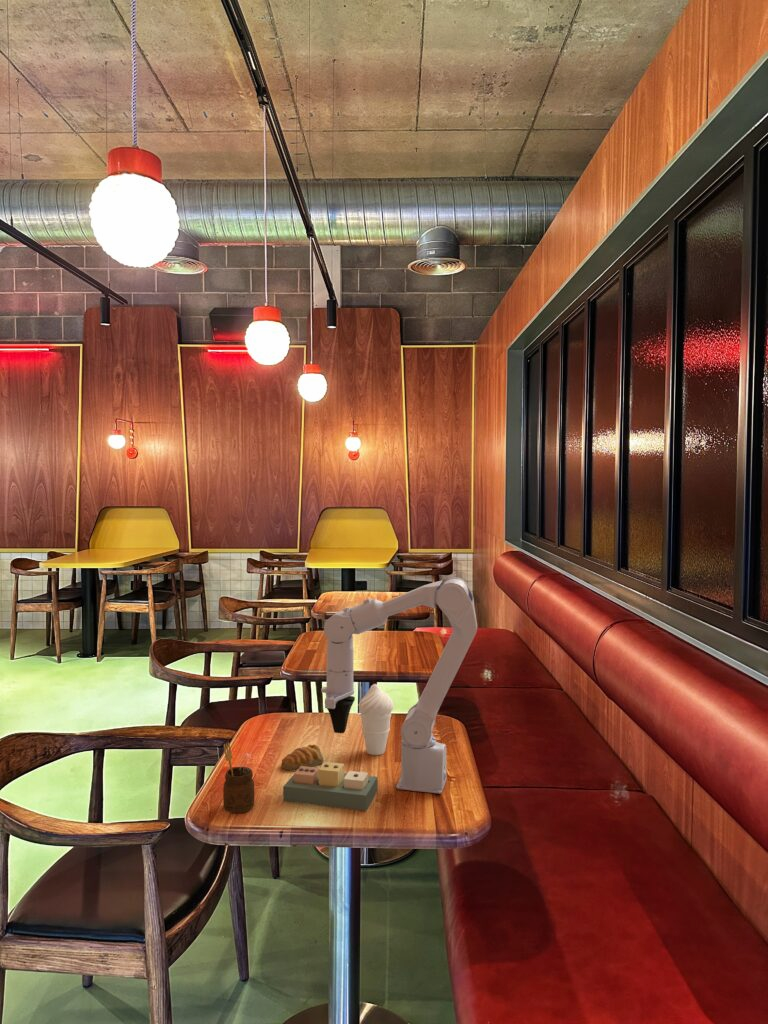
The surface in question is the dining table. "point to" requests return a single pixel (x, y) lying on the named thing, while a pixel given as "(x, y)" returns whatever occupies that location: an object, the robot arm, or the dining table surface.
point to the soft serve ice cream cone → (375, 719)
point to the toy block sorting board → (331, 794)
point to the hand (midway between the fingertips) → (339, 731)
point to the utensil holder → (238, 786)
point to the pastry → (303, 758)
